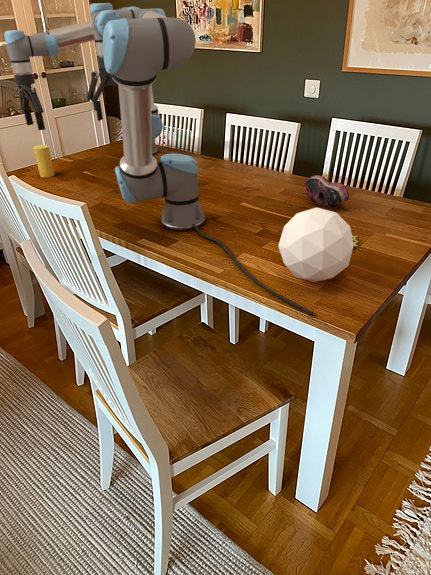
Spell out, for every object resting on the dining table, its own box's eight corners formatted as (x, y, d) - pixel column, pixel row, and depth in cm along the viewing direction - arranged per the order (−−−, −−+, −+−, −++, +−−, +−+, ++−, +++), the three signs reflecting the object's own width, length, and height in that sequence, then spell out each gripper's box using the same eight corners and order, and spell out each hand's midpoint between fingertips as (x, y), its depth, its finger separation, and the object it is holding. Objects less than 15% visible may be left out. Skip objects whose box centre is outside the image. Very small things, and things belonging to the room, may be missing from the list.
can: (57, 174, 205) (51, 146, 198) (45, 178, 201) (38, 149, 194) (49, 172, 209) (42, 144, 202) (37, 175, 204) (30, 147, 197)
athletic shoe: (314, 174, 176) (289, 181, 172) (350, 168, 156) (323, 177, 152) (319, 202, 179) (295, 210, 175) (356, 200, 159) (329, 209, 155)
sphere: (322, 305, 122) (338, 279, 104) (262, 266, 127) (267, 235, 108) (357, 254, 127) (378, 220, 109) (298, 218, 132) (308, 180, 113)
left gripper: (4, 72, 188) (17, 124, 199) (25, 77, 172) (38, 133, 183) (21, 70, 192) (33, 121, 203) (43, 75, 176) (55, 130, 187)
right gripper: (145, 54, 153) (152, 119, 164) (80, 55, 158) (91, 117, 170) (137, 57, 147) (144, 123, 158) (70, 57, 152) (81, 121, 164)
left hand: (36, 127), depth 193 cm, fingers open, 13 cm apart
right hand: (117, 120), depth 164 cm, fingers open, 13 cm apart
